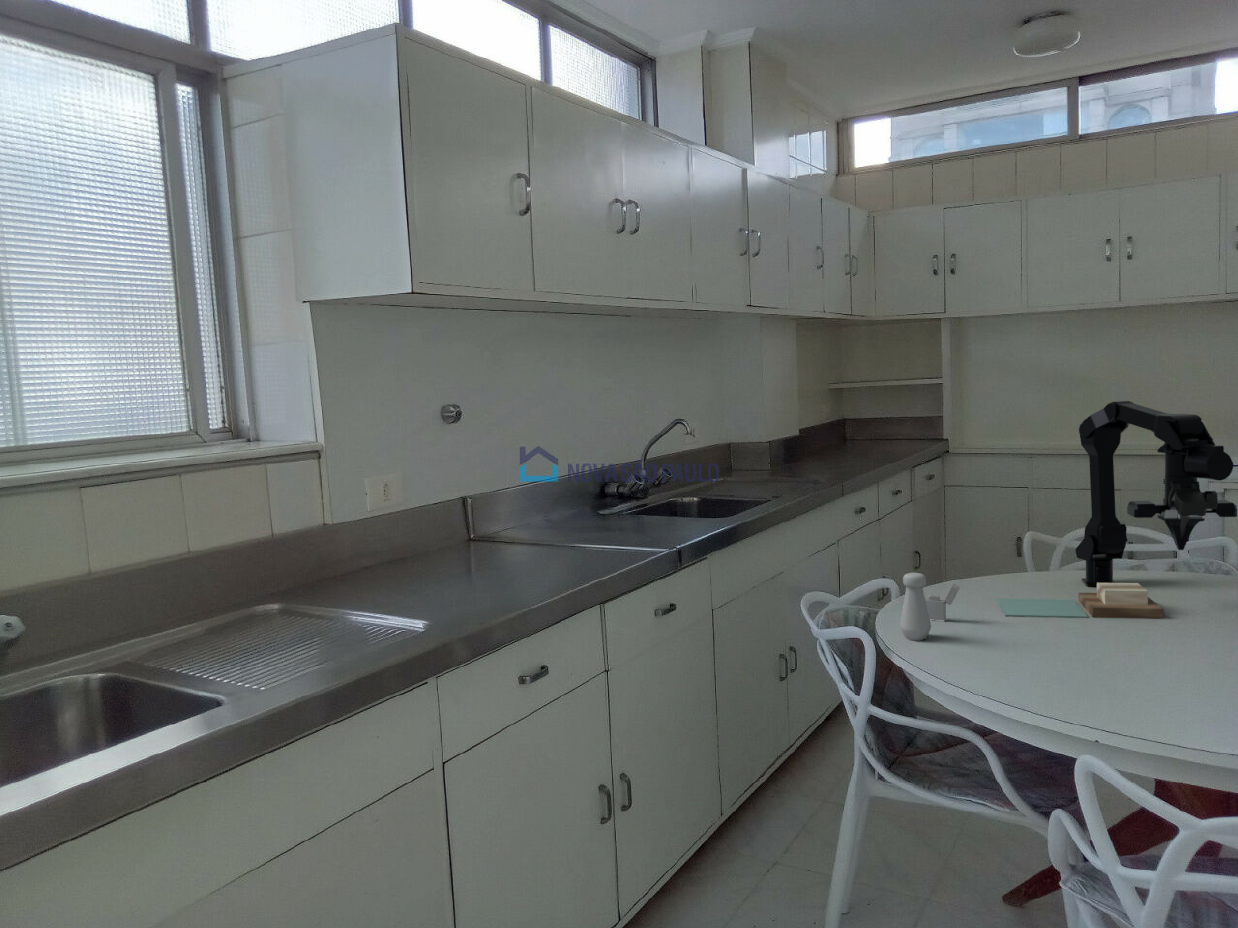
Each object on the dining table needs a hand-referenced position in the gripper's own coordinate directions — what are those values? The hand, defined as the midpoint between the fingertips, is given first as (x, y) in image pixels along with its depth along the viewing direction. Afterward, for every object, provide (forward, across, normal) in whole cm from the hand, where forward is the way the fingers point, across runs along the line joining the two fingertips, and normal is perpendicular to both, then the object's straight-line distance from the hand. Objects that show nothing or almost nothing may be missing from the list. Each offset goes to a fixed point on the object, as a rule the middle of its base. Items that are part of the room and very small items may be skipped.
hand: (1180, 549), depth 187 cm
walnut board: (+13, -12, 0) cm, 17 cm away
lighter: (+13, -48, -11) cm, 51 cm away
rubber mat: (+13, -27, 0) cm, 30 cm away
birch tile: (+11, -11, 0) cm, 16 cm away
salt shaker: (+13, -54, -24) cm, 61 cm away
